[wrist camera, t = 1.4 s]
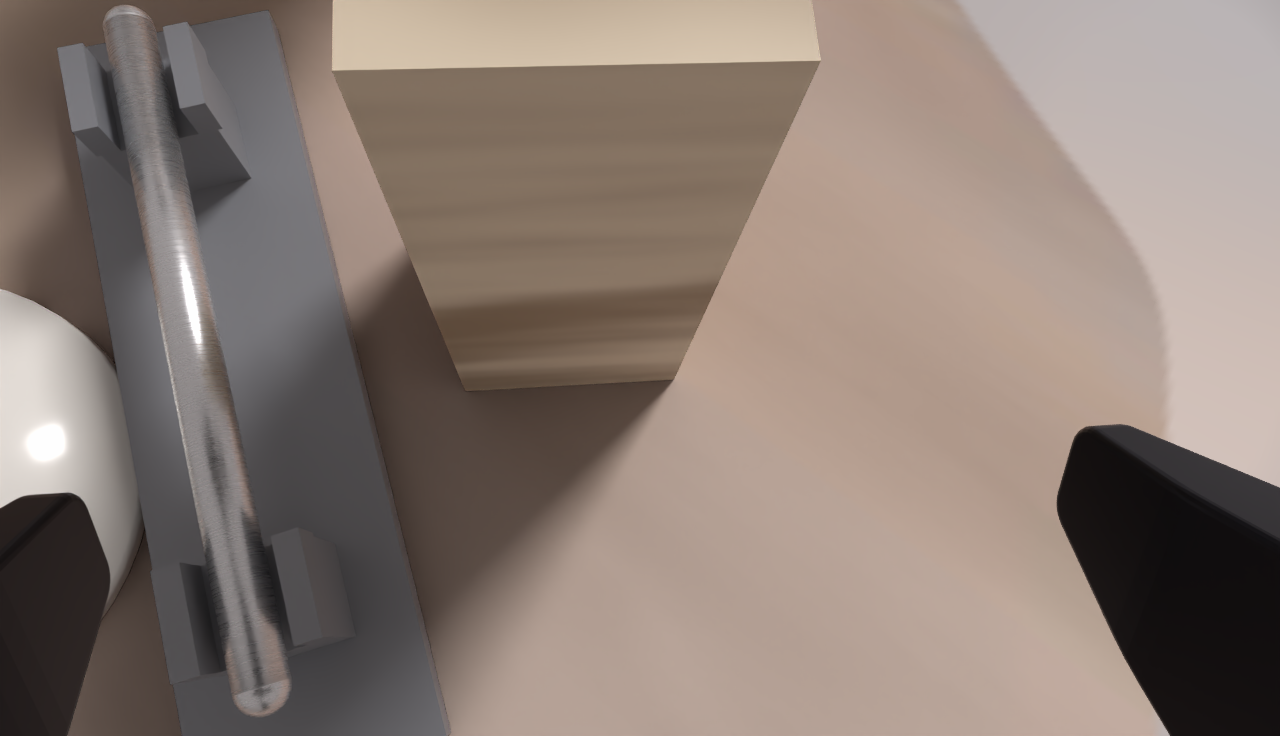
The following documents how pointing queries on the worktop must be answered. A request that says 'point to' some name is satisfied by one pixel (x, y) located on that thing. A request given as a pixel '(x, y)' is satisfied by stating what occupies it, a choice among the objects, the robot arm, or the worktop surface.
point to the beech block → (571, 166)
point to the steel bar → (198, 371)
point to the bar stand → (257, 397)
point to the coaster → (66, 427)
